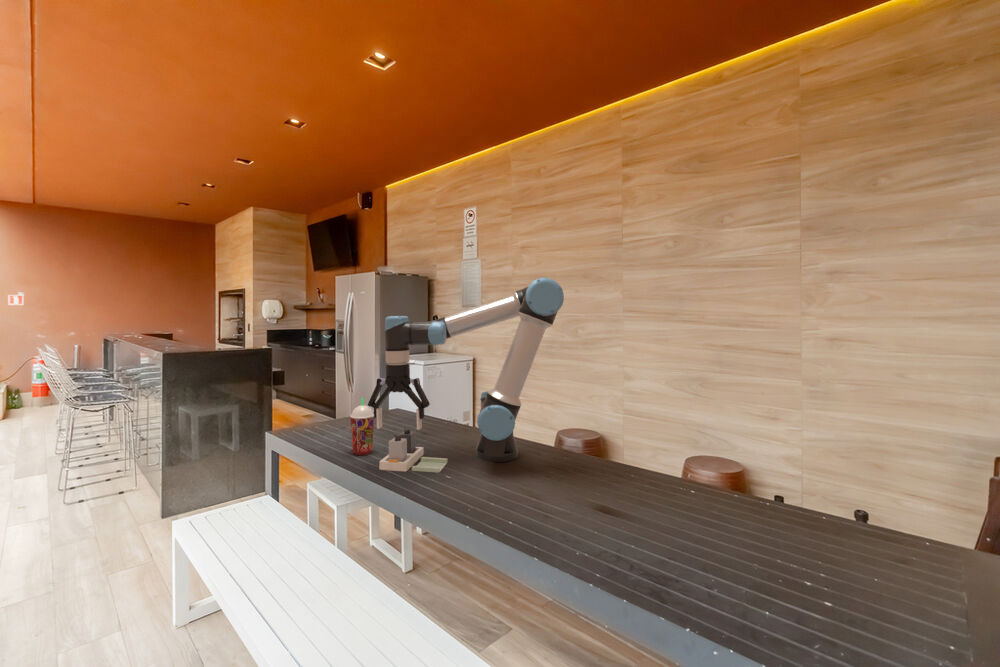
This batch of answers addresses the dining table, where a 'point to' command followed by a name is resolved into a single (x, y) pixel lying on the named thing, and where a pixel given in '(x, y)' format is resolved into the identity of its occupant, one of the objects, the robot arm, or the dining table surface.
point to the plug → (398, 448)
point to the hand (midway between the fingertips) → (399, 428)
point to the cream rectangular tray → (412, 454)
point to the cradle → (430, 464)
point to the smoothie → (362, 429)
